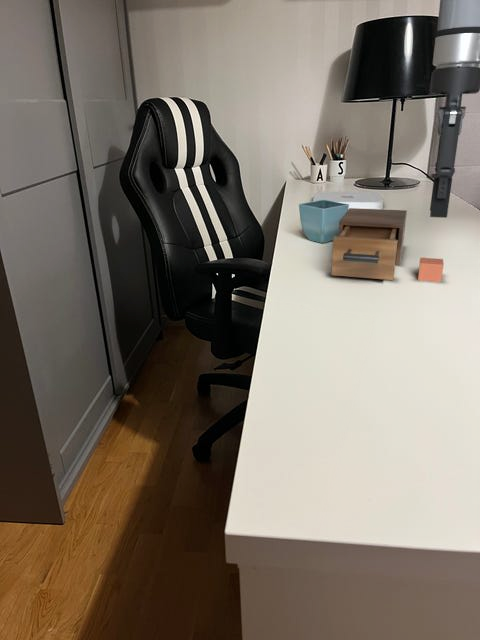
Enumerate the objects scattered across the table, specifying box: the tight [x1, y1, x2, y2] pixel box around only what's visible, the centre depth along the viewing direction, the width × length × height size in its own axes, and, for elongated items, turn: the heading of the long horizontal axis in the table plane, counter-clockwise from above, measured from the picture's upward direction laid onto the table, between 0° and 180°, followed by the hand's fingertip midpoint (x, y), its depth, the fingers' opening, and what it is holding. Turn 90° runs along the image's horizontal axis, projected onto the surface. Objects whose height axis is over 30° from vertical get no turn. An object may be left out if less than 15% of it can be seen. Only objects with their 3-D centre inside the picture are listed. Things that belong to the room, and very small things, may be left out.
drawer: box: [331, 225, 398, 281], centre depth 96 cm, size 19×11×7 cm, turn 161°
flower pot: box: [298, 200, 349, 244], centre depth 122 cm, size 9×9×9 cm
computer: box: [312, 190, 384, 210], centre depth 167 cm, size 22×22×3 cm
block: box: [417, 257, 445, 283], centre depth 93 cm, size 4×4×4 cm
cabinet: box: [338, 208, 408, 266], centre depth 108 cm, size 15×13×9 cm
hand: (438, 213), depth 89 cm, fingers open, 5 cm apart
